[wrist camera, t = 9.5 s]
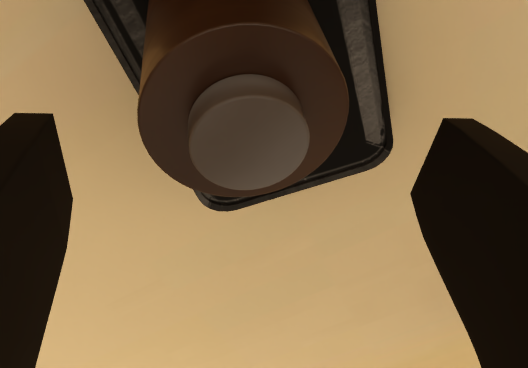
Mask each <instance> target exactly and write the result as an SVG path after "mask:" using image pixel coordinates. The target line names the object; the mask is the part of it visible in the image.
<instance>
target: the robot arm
mask: <svg viewBox="0 0 528 368" xmlns="http://www.w3.org/2000/svg"><path fill="white" fill-rule="evenodd" d="M410 194H411V198H412V201H413V205H414V208H415V212H416V216H417V219H418V222H419V225H420V228H421V232H422V235H423V238H424V240H425V242H426V244H427V247H428V249H429V251H430V253H431V255H432V258H433V260H434V262H435V264H436V266H437V269H438V271H439V273H440V275H441V277H442V279H443V281H444V284H445V286H446V288H447V290H448V292H449V294H450V296H451V298H452V300H453V303H454V305H455V307H456V309H457V311H458V313H459V315H460V318H461V320H462V322H463V324H464V326H465V328H466V330H467V332H468V335H469V337H470V339H471V342H472V344H473V347H474V349H475V351H476V354H477V356H478V359H479V362H480V365H481V368H528V153H527V152H525V151H524V150H522V149H521V148H519V147H518V146H516V145H515V144H513V143H512V142H510V141H509V140H507V139H506V138H504V137H503V136H501V135H500V134H498V133H496V132H495V131H493V130H492V129H490V128H488V127H486V126H485V125H483V124H481V123H479V122H478V121H476V120H474V119H463V118H443V120H442V123H441V125H440V127H439V129H438V132H437V134H436V136H435V139H434V141H433V143H432V145H431V148H430V150H429V152H428V154H427V157H426V159H425V161H424V164H423V166H422V168H421V170H420V173H419V175H418V177H417V180H416V182H415V184H414V186H413V189H412V191H411V193H410ZM72 202H73V197H72V193H71V189H70V184H69V180H68V176H67V172H66V167H65V163H64V159H63V155H62V150H61V146H60V142H59V138H58V133H57V129H56V125H55V121H54V116H53V114H47V113H14V114H13V115H12V116H11V117H10V118H8V119H7V120H6V121H5V122H4V123H3V124H2V125H1V126H0V368H35V366H36V362H37V358H38V355H39V351H40V347H41V344H42V340H43V336H44V332H45V329H46V325H47V321H48V317H49V314H50V310H51V306H52V303H53V299H54V295H55V291H56V288H57V284H58V280H59V276H60V272H61V269H62V265H63V261H64V257H65V253H66V249H67V242H68V235H69V228H70V220H71V211H72Z"/></svg>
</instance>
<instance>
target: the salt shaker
mask: <svg viewBox="0 0 528 368" xmlns="http://www.w3.org/2000/svg"><path fill="white" fill-rule="evenodd" d="M348 112H349V97H348V89H347V85H346V82H345V78H344V76H343V74H342V72H341V70H340V68H339V65H338V63H337V61H336V59H335V57H334V55H333V53H332V51H331V49H330V46H329V44H328V42H327V40H326V38H325V36H324V34H323V32H322V30H321V28H320V25H319V23H318V21H317V19H316V17H315V15H314V13H313V11H312V9H311V6H310V4H309V2H308V0H149V2H148V11H147V21H146V31H145V41H144V50H143V60H142V70H141V80H140V89H139V99H138V109H137V115H138V127H139V132H140V135H141V138H142V141H143V144H144V146H145V148H146V149H147V151H148V153H149V155H150V156H151V157H152V159H153V160H154V161H155V163H156V164H157V165H158V166H159V167H160V168H161V169H162V170H163V171H164V172H165V173H166V174H168V175H169V176H170V177H172V178H173V179H175V180H176V181H178V182H179V183H181V184H183V185H185V186H187V187H189V188H192V189H194V190H197V191H200V192H203V193H207V194H212V195H217V196H225V197H248V196H256V195H262V194H266V193H270V192H274V191H277V190H280V189H283V188H285V187H287V186H290V185H292V184H294V183H296V182H298V181H299V180H301V179H303V178H304V177H306V176H307V175H309V174H310V173H311V172H313V171H314V170H315V169H317V168H318V167H319V166H320V165H321V164H322V163H323V162H324V161H325V160H326V159H327V158H328V156H329V155H330V154H331V153H332V151H333V150H334V148H335V147H336V146H337V144H338V142H339V140H340V138H341V136H342V134H343V131H344V128H345V126H346V122H347V117H348Z"/></svg>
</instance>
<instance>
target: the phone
mask: <svg viewBox="0 0 528 368" xmlns="http://www.w3.org/2000/svg"><path fill="white" fill-rule="evenodd" d="M84 2H85V3H86V5H87V7H88V9H89V10H90V12H91V14H92V15H93V17H94V19H95V21H96V22H97V24H98V26H99V28H100V29H101V31H102V33H103V34H104V36H105V38H106V40H107V41H108V43H109V45H110V47H111V48H112V50H113V52H114V53H115V55H116V57H117V59H118V60H119V62H120V64H121V66H122V67H123V69H124V71H125V72H126V74H127V76H128V78H129V79H130V81H131V83H132V85H133V86H134V88H135V90H136V91H137V93H138V95H139V89H140V80H141V70H142V60H143V50H144V41H145V31H146V21H147V11H148V2H149V0H84ZM308 2H309V4H310V6H311V9H312V11H313V13H314V15H315V17H316V19H317V21H318V23H319V25H320V28H321V30H322V32H323V34H324V36H325V38H326V40H327V42H328V44H329V46H330V49H331V51H332V53H333V55H334V57H335V59H336V61H337V63H338V65H339V68H340V70H341V72H342V74H343V76H344V78H345V82H346V85H347V89H348V97H349V112H348V117H347V122H346V126H345V128H344V131H343V134H342V136H341V138H340V140H339V142H338V144H337V146H336V147H335V148H334V150H333V151H332V153H331V154H330V155H329V156H328V158H327V159H326V160H325V161H324V162H323V163H322V164H321V165H320V166H319V167H318V168H317V169H315V170H314V171H313V172H311V173H310V174H309V175H307V176H306V177H304V178H303V179H301V180H299V181H298V182H296V183H294V184H292V185H290V186H287V187H285V188H283V189H280V190H277V191H274V192H270V193H266V194H262V195H256V196H248V197H225V196H217V195H212V194H207V193H203V192H200V191H197V190H194V189H193V190H194V192H195V193H196V195H197V197H198V199H199V200H200V201H201V202H202V204H203V205H205V206H206V207H208V208H210V209H213V210H216V211H233V210H238V209H241V208H244V207H248V206H251V205H254V204H258V203H261V202H264V201H267V200H271V199H274V198H277V197H281V196H284V195H287V194H291V193H294V192H297V191H301V190H304V189H307V188H311V187H314V186H317V185H321V184H324V183H327V182H331V181H334V180H337V179H341V178H344V177H347V176H351V175H354V174H357V173H360V172H364V171H367V170H369V169H372V168H374V167H376V166H378V165H379V164H380V163H382V162H383V161H384V160H385V159H386V158H387V157H388V156H389V154H390V152H391V150H392V148H393V135H392V127H391V119H390V111H389V103H388V95H387V87H386V79H385V71H384V63H383V55H382V47H381V39H380V31H379V23H378V15H377V7H376V0H308Z"/></svg>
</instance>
